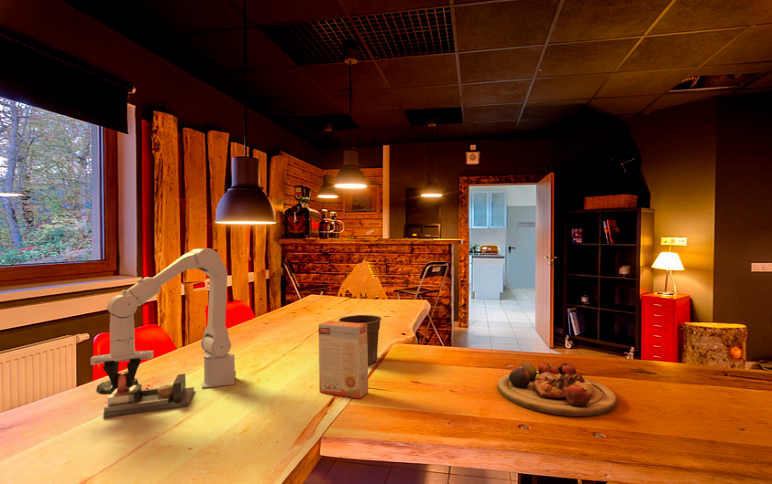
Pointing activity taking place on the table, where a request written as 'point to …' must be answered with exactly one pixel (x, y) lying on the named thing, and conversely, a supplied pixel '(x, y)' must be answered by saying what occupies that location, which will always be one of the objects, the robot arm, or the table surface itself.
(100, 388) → the log
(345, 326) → the cracker box
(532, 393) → the wooden plate with food
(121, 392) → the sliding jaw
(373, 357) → the plant pot
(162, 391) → the tan rounded lump
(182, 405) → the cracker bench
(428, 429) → the table surface
